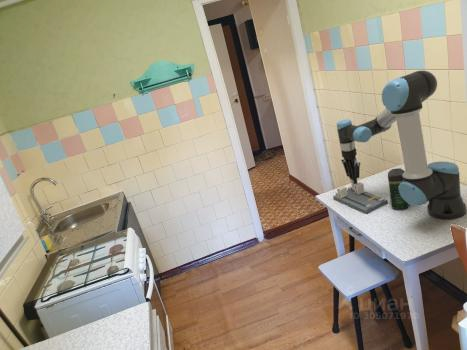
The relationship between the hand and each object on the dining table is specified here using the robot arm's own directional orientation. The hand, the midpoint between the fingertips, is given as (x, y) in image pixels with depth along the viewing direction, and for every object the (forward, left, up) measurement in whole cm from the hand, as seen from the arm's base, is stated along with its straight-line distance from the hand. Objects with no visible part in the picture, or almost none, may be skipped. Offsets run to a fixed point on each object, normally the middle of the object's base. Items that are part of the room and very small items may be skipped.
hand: (355, 189), depth 205 cm
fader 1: (+1, +8, -1) cm, 8 cm away
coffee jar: (-26, -5, -4) cm, 27 cm away
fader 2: (-3, 0, -1) cm, 4 cm away
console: (-7, +4, -4) cm, 9 cm away
